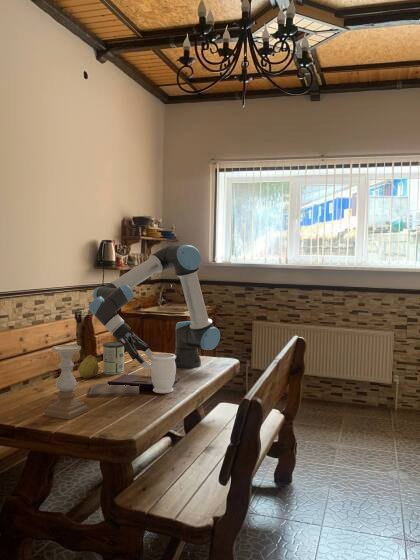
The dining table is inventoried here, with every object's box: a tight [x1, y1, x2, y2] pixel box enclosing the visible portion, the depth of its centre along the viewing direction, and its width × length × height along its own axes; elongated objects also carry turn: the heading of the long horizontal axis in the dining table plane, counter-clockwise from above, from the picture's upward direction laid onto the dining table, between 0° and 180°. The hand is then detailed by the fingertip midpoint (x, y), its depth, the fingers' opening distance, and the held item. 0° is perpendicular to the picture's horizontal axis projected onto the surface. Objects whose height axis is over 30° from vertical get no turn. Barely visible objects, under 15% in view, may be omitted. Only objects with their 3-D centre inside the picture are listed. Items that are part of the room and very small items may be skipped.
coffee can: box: [102, 341, 125, 376], centre depth 239 cm, size 10×10×14 cm
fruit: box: [78, 351, 100, 379], centre depth 229 cm, size 9×9×12 cm
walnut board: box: [88, 383, 140, 398], centre depth 207 cm, size 20×16×1 cm
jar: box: [150, 353, 177, 394], centre depth 207 cm, size 11×10×15 cm
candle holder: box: [44, 344, 89, 421], centre depth 176 cm, size 11×11×24 cm
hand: (152, 364), depth 207 cm, fingers open, 13 cm apart
